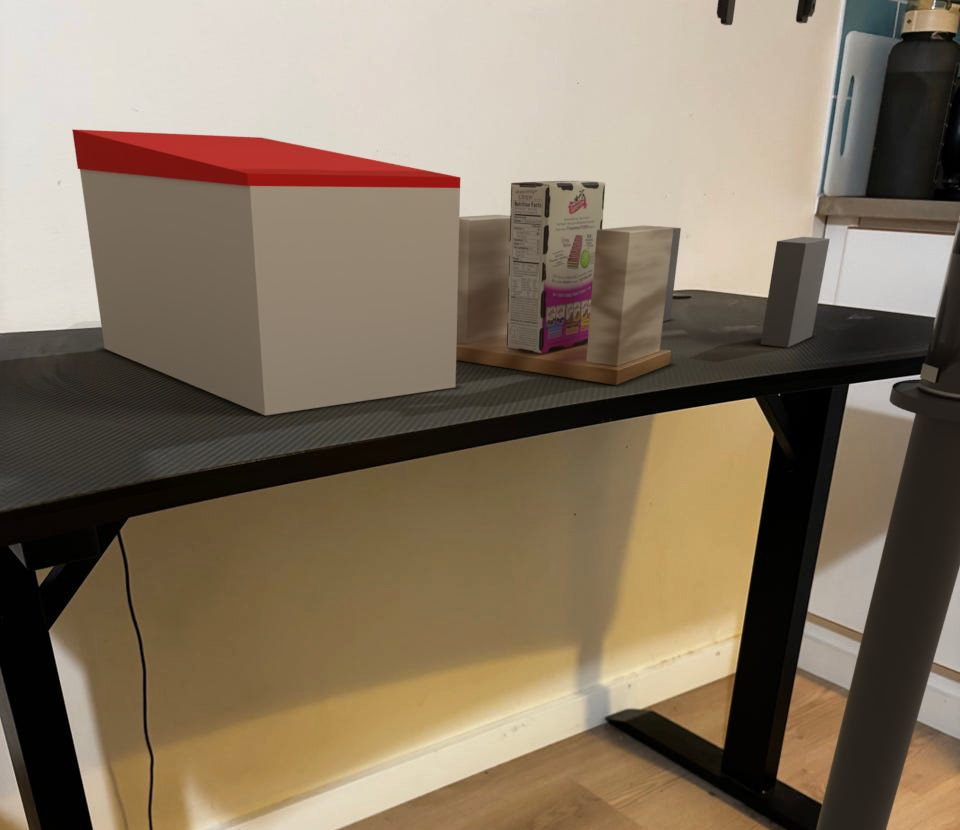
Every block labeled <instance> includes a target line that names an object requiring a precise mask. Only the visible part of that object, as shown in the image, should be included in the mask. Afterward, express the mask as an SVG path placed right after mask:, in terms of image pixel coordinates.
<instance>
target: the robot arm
mask: <svg viewBox="0 0 960 830" xmlns="http://www.w3.org/2000/svg"><path fill="white" fill-rule="evenodd" d="M736 1H737V0H717V7H716V16H717V18H718V19H720V24H721V25H723V26H732V25H733V23H734V17H735V16H734V14H735V8H736ZM816 4H817V0H798V2H797V9H796V15H795V21H796V23H798V24H807V23H808V21H809V18H812V17H813V16H814V13H815V12H816ZM947 263H948V264H947V267H946V271H945V275H944V279H943V284H942V288H941V292H940V297H939V301H938V305H937V309H936V313H935V318H934V321H933V325H932V330H931V335H930V338H929V343H928V347H927V351H926V356H925V359H924V363H922V366H921V370H920V375H919V378H920V379H921V381H919V385H918V390H920V391H921V392H923V393H926V394H928V395H931V396H935V397H939V398H944V399H949V400H955V401H960V215H959V217H958V221H957V224H956V229H955V234H954V237H953V241H952V246H951V250H950V254H949V259H948V262H947Z"/></svg>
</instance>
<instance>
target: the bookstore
mask: <svg viewBox="0 0 960 830" xmlns="http://www.w3.org/2000/svg"><path fill="white" fill-rule="evenodd" d="M71 131H72V139H73V146H74V150H75V158H76V167H77V170H79V172H80V180H81V181H80V182H81V187H82V194H83V200H84V202H83V203H84V211H85V217H86V223H87V231H88V232H87V233H88V239H89V246H90V252H91V254H90V255H91V260H92V268H93V274H94V275H93V276H94V280H95V282H94V283H95V288H96V289H95V290H96V296H97V303H98V311H99V318H100V326H101V332H102V339H103V346H104V349H105V350H107V351H109V352H112V353H115V354H117V355H119V356H121V357H124V358H127V359H129V360H131V361H133V362H136V363H138V364H141V365H143V366H146V367H148V368H150V369H153V370H155V371H158V372H160V373H162V374H164V375H167V376H170V377H172V378H175V379H177V380H179V381H181V382H184V383H185V384H188V385H191V386H194V387H196V388H198V389H201V390H203V391H206V392H208V393H211V394H213V395H215V396H217V397H219V398H222V399H225V400H227V401H230V402H232V403H234V404H237V405H239V406H241V407H243V408H246V409H248V410H252V411H253V412H255V413H258V414H260V415H262V416H271V415H279V414H284V413H292V412H297V411H303V410H310V409H317V408H324V407H330V406H338V405H345V404H352V403H357V402H366V401H372V400H378V399H386V398H393V397H398V396H405V395H411V394H418V393H419V394H420V393H427V392H432V391H439V390H445V389H453V388H456V384H457V383H456V381H457V380H456V379H457V360H456V342H457V299H458V256H459V217H460V213H461V211H460V209H461V208H460V207H461V206H460V204H461V177H460V176H456V175H451V174H447V173H441V172H435V171H431V170H426V169H421V168H416V167H411V166H407V165H400V164H396V163H391V162H387V161H381V160H375V159H370V158H365V157H361V156H357V155H356V156H355V155H351V154H347V153H341V152H335V151H330V150H326V149H321V148H316V147H311V146H307V145H306V146H305V145H302V144H297V143H291V142H286V141H280V140H276V139H270V138H266V137H259V136H236V135H235V136H233V135H213V134H212V135H211V134H190V133H189V134H188V133H165V132H164V133H163V132H141V131H118V130H116V131H115V130H97V129H96V130H95V129H94V130H93V129H73V128H72V130H71Z"/></svg>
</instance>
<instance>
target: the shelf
mask: <svg viewBox="0 0 960 830" xmlns="http://www.w3.org/2000/svg"><path fill="white" fill-rule="evenodd" d="M659 226H660V225H658V226H657V225H645V224H643V225H632V226H631V225H630V226H623V227H622V226H621V227H612V228H611V227H609V228H602V229H599V230H597V236H596V248H595V261H594V273H593V285H592V297H591V310H590V322H589V334H588V343H585V344H581V345H577V346H573V347H570V348H566V349H562V350H558V351H553V352H549V353H545V354H537V353H529V352H522V351H516V350H511V349H508V348H507V316H508V288H509V285H508V281H509V247H510V215H505V214H486V215H469V216H467V215H466V216H459V256H458V299H457V342H456V361H460V362H467V363H471V364H472V363H473V364H479V365H485V366H492V367H498V368H504V369H510V370H518V371H523V372H529V373H535V374H536V373H537V374H541V375H549V376H554V377H555V376H556V377H561V378H567V379H568V378H569V379H574V380H581V381H586V382H587V381H588V382H594V383H598V384H599V383H600V384H604V385H605V384H606V385H613V386H617V385H620V384H622V383H625V382H627V381H630V380H633V379H635V378H636V379H637V377H641V376H643V375H646V374H648V373H651V372H654V371H656V370H659V369H661V368H664V367H666V366H669V365H670V362H671V356H672V351H671V350H669V349H661V341H662V333H663V332H662V331H663V323H664V321H663V316H664V307H665V298H666V290H667V281H668V272H669V263H670V255H671V246H672V237H673V227H674V226H673V227H672V226H660V227H659Z"/></svg>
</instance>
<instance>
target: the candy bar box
mask: <svg viewBox="0 0 960 830" xmlns="http://www.w3.org/2000/svg"><path fill="white" fill-rule="evenodd" d="M605 191H606V182H603V181H592V180H543V181H522V182H511V183H510V215H509V216H510V247H509V281H508V285H509V288H508V316H507V348H508V349H511V350H516V351H522V352H529V353H537V354H545V353H549V352H553V351H558V350H562V349H566V348H570V347H573V346H577V345H581V344H585V343H588V334H589V322H590V310H591V297H592V285H593V273H594V261H595V248H596V236H597V230H599V229H603V222H604V210H605V209H604V207H605V194H606V192H605Z"/></svg>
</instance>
